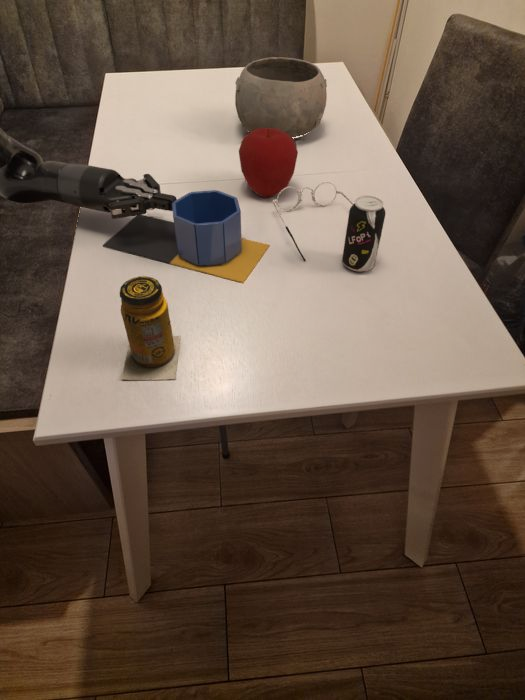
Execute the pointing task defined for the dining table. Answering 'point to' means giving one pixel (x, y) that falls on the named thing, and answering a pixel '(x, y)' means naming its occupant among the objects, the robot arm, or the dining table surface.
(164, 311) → the condiment
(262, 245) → the place mat
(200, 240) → the glazed bowl
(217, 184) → the dining table surface
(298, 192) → the eyeglasses
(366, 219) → the beverage can
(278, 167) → the apple
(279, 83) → the bowl
